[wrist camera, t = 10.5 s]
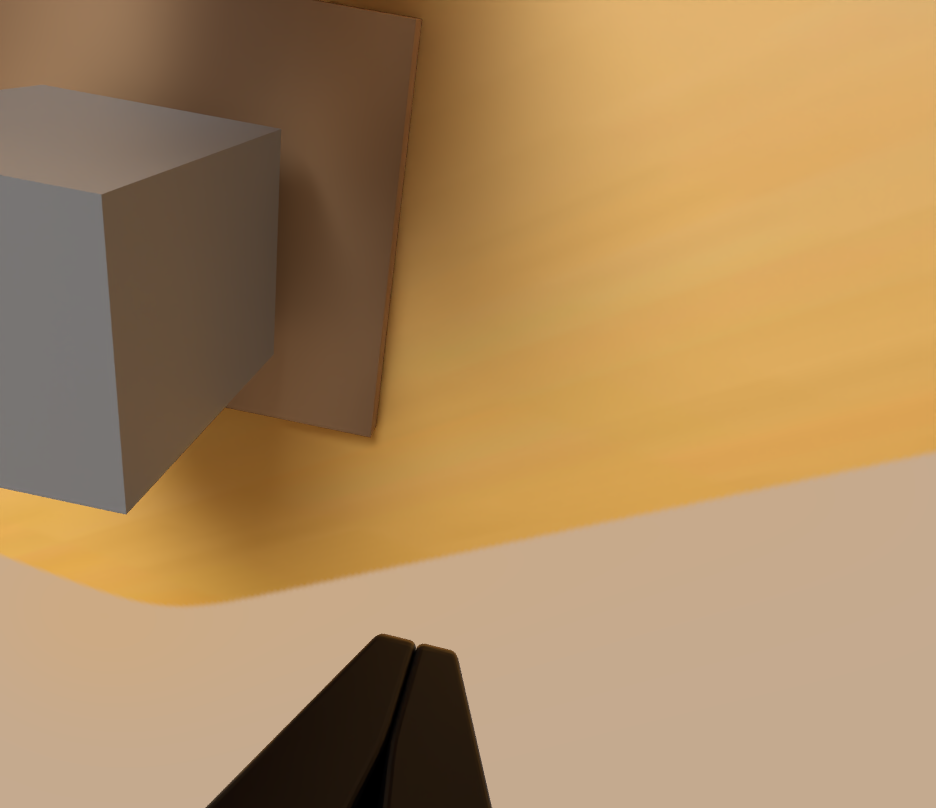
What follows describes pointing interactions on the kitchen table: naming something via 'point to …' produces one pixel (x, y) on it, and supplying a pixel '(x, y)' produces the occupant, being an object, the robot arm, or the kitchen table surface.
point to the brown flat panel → (301, 155)
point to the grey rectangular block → (126, 286)
